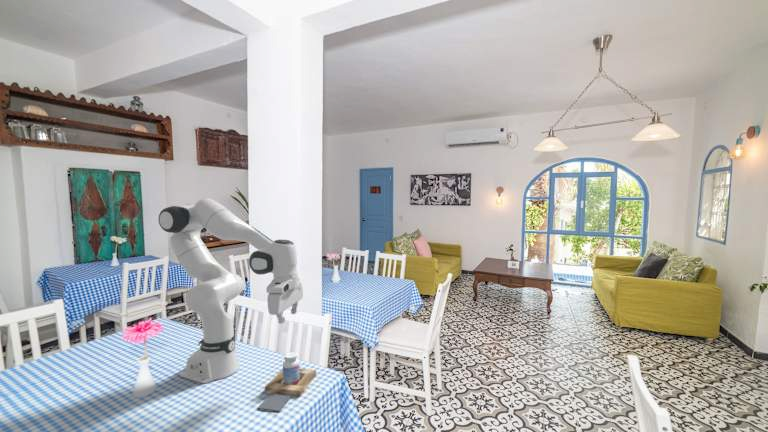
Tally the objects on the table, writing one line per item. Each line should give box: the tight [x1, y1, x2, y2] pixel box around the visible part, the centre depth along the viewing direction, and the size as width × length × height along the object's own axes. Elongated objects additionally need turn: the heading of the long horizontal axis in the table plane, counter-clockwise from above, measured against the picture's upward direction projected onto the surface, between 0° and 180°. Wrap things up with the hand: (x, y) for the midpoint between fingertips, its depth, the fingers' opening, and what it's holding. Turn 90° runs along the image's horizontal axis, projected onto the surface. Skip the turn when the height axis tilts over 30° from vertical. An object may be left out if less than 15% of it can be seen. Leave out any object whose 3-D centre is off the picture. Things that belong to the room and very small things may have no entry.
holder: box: [264, 367, 317, 397], centre depth 120 cm, size 14×14×2 cm
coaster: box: [257, 393, 292, 413], centre depth 108 cm, size 8×8×1 cm
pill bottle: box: [282, 351, 301, 385], centre depth 120 cm, size 6×6×11 cm
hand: (288, 317), depth 119 cm, fingers open, 8 cm apart
